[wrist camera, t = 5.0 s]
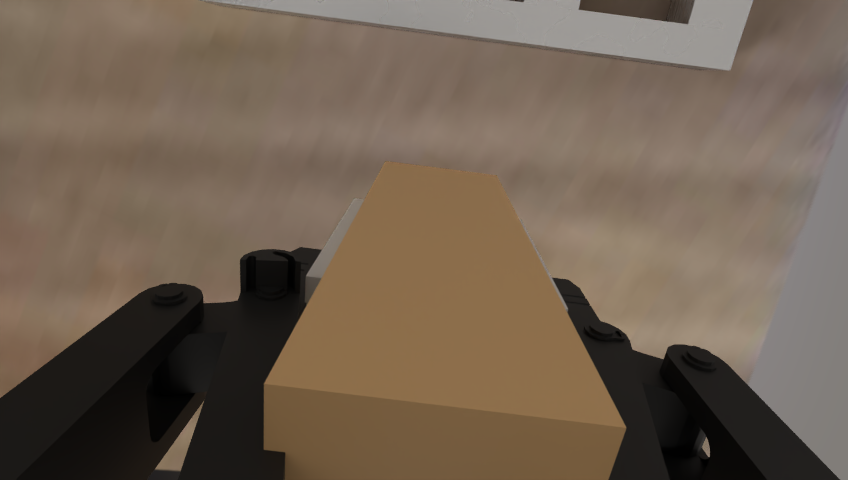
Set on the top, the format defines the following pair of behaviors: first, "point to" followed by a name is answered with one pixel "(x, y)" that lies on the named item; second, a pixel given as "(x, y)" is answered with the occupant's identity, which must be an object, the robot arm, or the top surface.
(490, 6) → the rack rail
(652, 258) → the top surface
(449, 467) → the tan rectangular block
